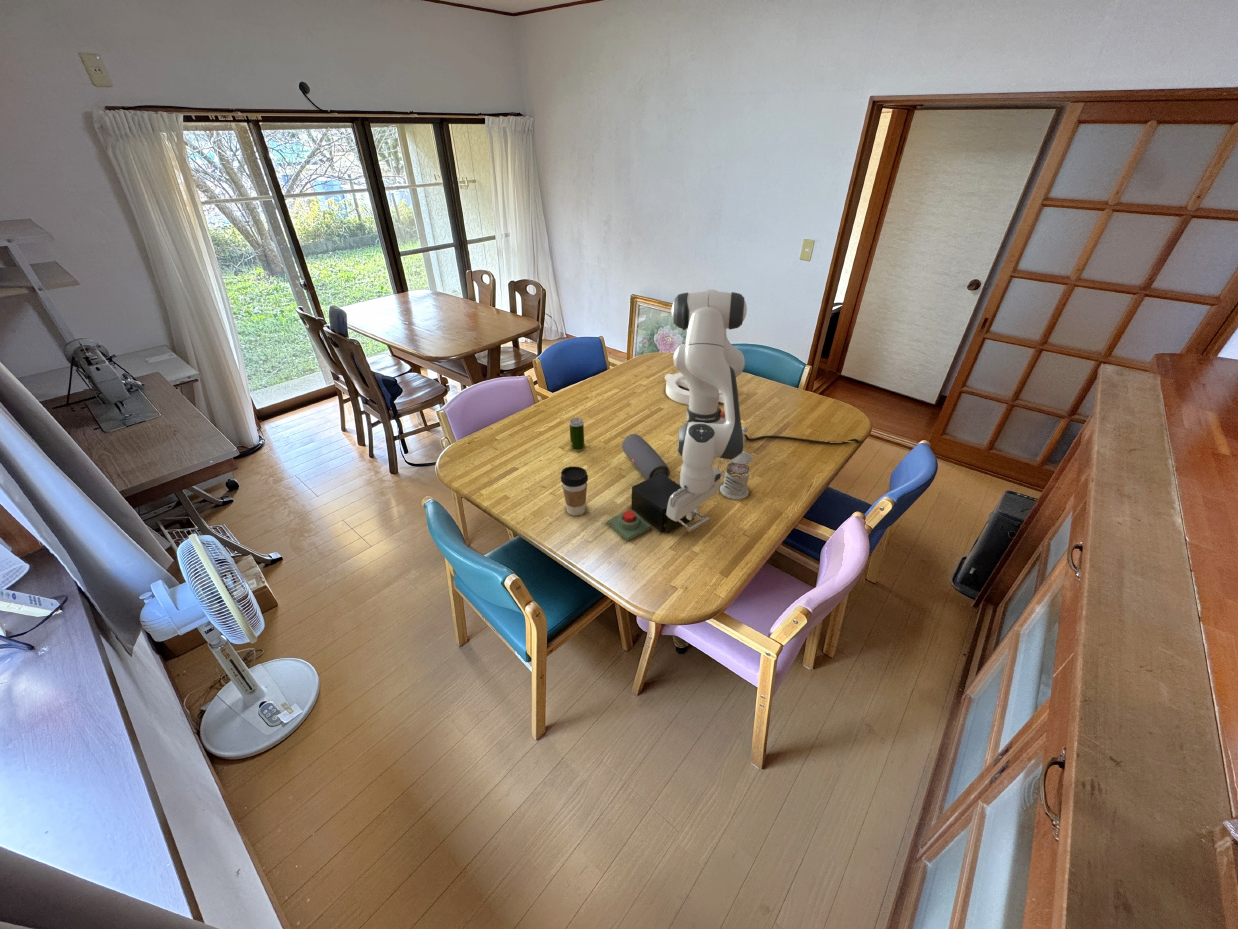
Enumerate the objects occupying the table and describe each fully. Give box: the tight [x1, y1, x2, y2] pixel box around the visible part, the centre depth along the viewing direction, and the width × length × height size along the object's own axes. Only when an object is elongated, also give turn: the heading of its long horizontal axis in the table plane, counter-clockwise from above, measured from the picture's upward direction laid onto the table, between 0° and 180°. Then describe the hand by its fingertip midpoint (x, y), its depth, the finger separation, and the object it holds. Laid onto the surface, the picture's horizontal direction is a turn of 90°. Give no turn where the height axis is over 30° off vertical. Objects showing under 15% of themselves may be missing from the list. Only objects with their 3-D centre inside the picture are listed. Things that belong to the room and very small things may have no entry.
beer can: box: [568, 417, 585, 452], centre depth 185 cm, size 5×5×12 cm
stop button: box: [623, 510, 636, 522], centre depth 148 cm, size 4×4×2 cm
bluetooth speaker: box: [621, 433, 671, 480], centre depth 173 cm, size 23×9×10 cm, turn 23°
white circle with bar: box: [664, 372, 724, 406], centre depth 229 cm, size 28×28×5 cm
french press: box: [717, 426, 753, 500], centre depth 160 cm, size 10×12×25 cm
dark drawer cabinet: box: [630, 473, 682, 534], centre depth 153 cm, size 15×13×9 cm
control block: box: [607, 508, 652, 542], centre depth 149 cm, size 10×9×4 cm
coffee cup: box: [560, 466, 589, 516], centre depth 153 cm, size 8×8×15 cm
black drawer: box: [663, 510, 710, 534], centre depth 149 cm, size 21×11×7 cm, turn 38°
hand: (691, 517), depth 143 cm, fingers closed
